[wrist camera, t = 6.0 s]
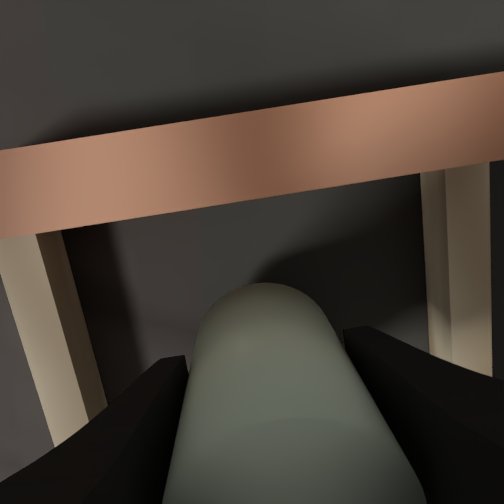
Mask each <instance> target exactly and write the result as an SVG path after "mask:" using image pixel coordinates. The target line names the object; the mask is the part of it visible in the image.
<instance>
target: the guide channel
mask: <svg viewBox="0 0 504 504" xmlns="http://www.w3.org/2000/svg"><path fill="white" fill-rule="evenodd" d="M498 160H504V71H503V72H497V73H490V74H484V75H477V76H471V77H465V78H458V79H452V80H446V81H439V82H433V83H427V84H420V85H414V86H407V87H401V88H395V89H388V90H382V91H376V92H369V93H363V94H357V95H350V96H344V97H337V98H331V99H325V100H318V101H312V102H306V103H299V104H293V105H287V106H280V107H274V108H267V109H261V110H255V111H248V112H242V113H236V114H229V115H223V116H217V117H210V118H204V119H197V120H191V121H185V122H178V123H172V124H166V125H159V126H153V127H147V128H140V129H134V130H127V131H121V132H115V133H108V134H102V135H96V136H89V137H83V138H77V139H70V140H64V141H57V142H51V143H45V144H38V145H32V146H26V147H19V148H13V149H7V150H0V274H1V277H2V280H3V283H4V287H5V290H6V293H7V296H8V299H9V302H10V306H11V309H12V312H13V315H14V318H15V322H16V325H17V328H18V331H19V334H20V338H21V341H22V344H23V347H24V350H25V353H26V357H27V360H28V363H29V366H30V369H31V373H32V376H33V379H34V382H35V385H36V388H37V392H38V395H39V398H40V401H41V404H42V408H43V411H44V414H45V417H46V420H47V424H48V427H49V430H50V433H51V436H52V439H53V443H54V446H55V447H56V446H58V445H59V444H61V443H62V442H64V441H65V440H66V439H68V438H69V437H70V436H72V435H73V434H74V433H76V432H77V431H78V430H79V429H81V428H82V427H83V426H85V425H86V424H87V423H88V422H89V421H90V420H92V419H93V418H94V417H95V416H96V415H98V414H99V413H100V412H101V411H102V410H104V409H105V408H106V407H107V406H108V404H107V400H106V397H105V393H104V389H103V386H102V382H101V378H100V375H99V371H98V367H97V363H96V360H95V356H94V352H93V349H92V345H91V341H90V337H89V334H88V330H87V326H86V323H85V319H84V315H83V312H82V308H81V304H80V300H79V297H78V293H77V289H76V286H75V282H74V278H73V274H72V271H71V267H70V263H69V260H68V256H67V252H66V249H65V245H64V241H63V237H62V234H61V230H63V229H69V228H75V227H82V226H88V225H94V224H101V223H107V222H113V221H119V220H126V219H132V218H138V217H145V216H151V215H157V214H164V213H170V212H176V211H183V210H189V209H195V208H201V207H208V206H214V205H220V204H227V203H233V202H239V201H246V200H252V199H258V198H265V197H271V196H277V195H284V194H290V193H296V192H302V191H309V190H315V189H321V188H328V187H334V186H340V185H347V184H353V183H359V182H366V181H372V180H378V179H384V178H391V177H397V176H403V175H410V174H416V173H420V179H421V198H422V216H423V235H424V254H425V272H426V291H427V310H428V328H429V347H430V354H431V355H433V356H436V357H438V358H441V359H443V360H446V361H448V362H451V363H453V364H456V365H459V366H461V367H464V368H467V369H469V370H472V371H475V372H478V373H481V374H484V375H487V376H491V377H492V321H491V248H490V174H489V162H492V161H498Z"/></svg>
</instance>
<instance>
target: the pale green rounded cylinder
mask: <svg viewBox="0 0 504 504" xmlns="http://www.w3.org/2000/svg"><path fill="white" fill-rule="evenodd" d="M162 504H427V501H426V498H425V494H424V491H423V488H422V486H421V484H420V482H419V480H418V478H417V476H416V474H415V472H414V470H413V468H412V467H411V465H410V463H409V461H408V460H407V458H406V456H405V454H404V452H403V451H402V449H401V447H400V445H399V444H398V442H397V440H396V438H395V437H394V435H393V433H392V431H391V430H390V428H389V426H388V424H387V423H386V421H385V419H384V417H383V416H382V414H381V412H380V410H379V409H378V407H377V405H376V403H375V402H374V400H373V398H372V396H371V395H370V393H369V391H368V389H367V388H366V386H365V384H364V382H363V381H362V379H361V377H360V375H359V373H358V372H357V370H356V368H355V366H354V365H353V363H352V361H351V359H350V358H349V356H348V354H347V352H346V351H345V349H344V347H343V345H342V344H341V342H340V340H339V338H338V337H337V335H336V333H335V331H334V330H333V328H332V326H331V324H330V323H329V321H328V319H327V317H326V316H325V314H324V312H323V311H322V310H321V308H320V307H319V306H318V305H317V304H316V303H315V301H313V300H312V299H311V298H310V297H309V296H307V295H306V294H304V293H302V292H301V291H299V290H297V289H295V288H292V287H289V286H286V285H283V284H277V283H255V284H250V285H246V286H243V287H240V288H237V289H235V290H233V291H231V292H229V293H228V294H226V295H225V296H223V297H222V298H220V299H219V300H218V301H217V302H216V303H215V304H214V305H213V306H212V307H211V308H210V309H209V311H208V312H207V313H206V315H205V317H204V318H203V320H202V322H201V324H200V327H199V330H198V333H197V337H196V342H195V347H194V352H193V357H192V362H191V366H190V371H189V376H188V381H187V386H186V390H185V395H184V400H183V405H182V410H181V414H180V419H179V424H178V429H177V434H176V438H175V443H174V448H173V453H172V458H171V462H170V467H169V472H168V477H167V482H166V486H165V491H164V496H163V501H162Z"/></svg>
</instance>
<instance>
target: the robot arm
mask: <svg viewBox="0 0 504 504" xmlns="http://www.w3.org/2000/svg"><path fill="white" fill-rule="evenodd" d="M343 334H344V343H345V351H346V352H347V354H348V356H349V358H350V359H351V361H352V363H353V365H354V366H355V368H356V370H357V372H358V373H359V375H360V377H361V379H362V381H363V382H364V384H365V386H366V388H367V389H368V391H369V393H370V395H371V396H372V398H373V400H374V402H375V403H376V405H377V407H378V409H379V410H380V412H381V414H382V416H383V417H384V419H385V421H386V423H387V424H388V426H389V428H390V430H391V431H392V433H393V435H394V437H395V438H396V440H397V442H398V444H399V445H400V447H401V449H402V451H403V452H404V454H405V456H406V458H407V460H408V461H409V463H410V465H411V467H412V468H413V470H414V472H415V474H416V476H417V478H418V480H419V482H420V484H421V486H422V488H423V491H424V494H425V498H426V501H427V504H504V380H501V379H497V378H494V377H491V376H487V375H484V374H481V373H478V372H475V371H472V370H469V369H467V368H464V367H461V366H459V365H456V364H453V363H451V362H448V361H446V360H443V359H441V358H438V357H436V356H433V355H431V354H429V353H426V352H424V351H422V350H420V349H417V348H415V347H413V346H411V345H409V344H407V343H404V342H402V341H400V340H398V339H396V338H394V337H392V336H390V335H387V334H385V333H383V332H381V331H379V330H376V329H374V328H372V327H369V326H364V327H358V328H351V329H345V330H343ZM188 376H189V374H188V370H187V365H186V360H185V355H181V356H175V357H168V358H162V359H160V360H158V361H157V362H156V363H154V364H153V365H152V366H151V367H150V368H149V369H148V370H147V371H146V372H144V373H143V374H142V375H141V376H140V377H139V378H138V379H137V380H136V381H135V382H134V383H133V384H132V385H131V386H129V387H128V388H127V389H126V390H125V391H124V392H123V393H122V394H121V395H120V396H119V397H118V398H116V399H115V400H114V401H113V402H112V403H111V404H109V405H108V406H107V407H106V408H105V409H104V410H102V411H101V412H100V413H99V414H98V415H96V416H95V417H94V418H93V419H92V420H90V421H89V422H88V423H87V424H86V425H85V426H83V427H82V428H81V429H79V430H78V431H77V432H76V433H74V434H73V435H72V436H70V437H69V438H68V439H66V440H65V441H64V442H62V443H61V444H59V445H58V446H56V447H55V448H54V449H52V450H51V451H49V452H48V453H46V454H45V455H44V456H42V457H41V458H39V459H38V460H36V461H35V462H33V463H31V464H30V465H28V466H26V467H25V468H23V469H22V470H20V471H18V472H17V473H15V474H13V475H12V476H10V477H8V478H7V479H5V480H3V481H2V482H0V504H162V501H163V496H164V491H165V486H166V482H167V477H168V472H169V467H170V462H171V458H172V453H173V448H174V443H175V438H176V434H177V429H178V424H179V419H180V414H181V410H182V405H183V400H184V395H185V390H186V386H187V381H188Z"/></svg>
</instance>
